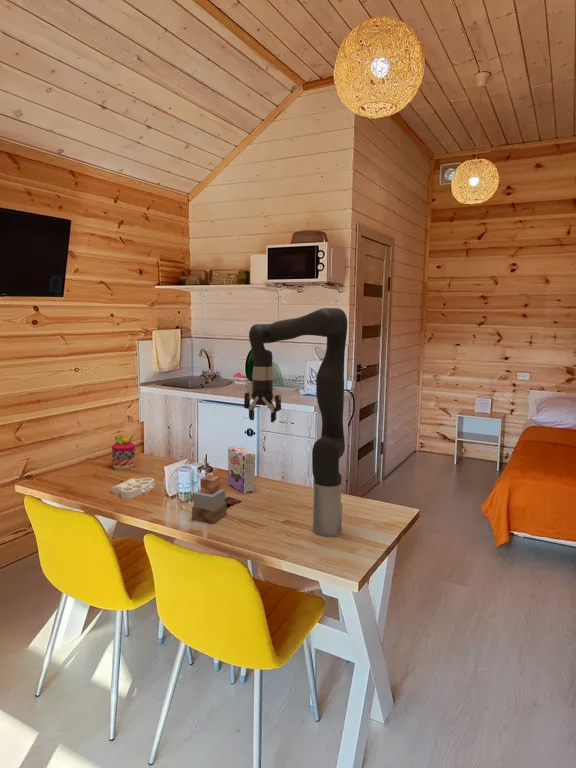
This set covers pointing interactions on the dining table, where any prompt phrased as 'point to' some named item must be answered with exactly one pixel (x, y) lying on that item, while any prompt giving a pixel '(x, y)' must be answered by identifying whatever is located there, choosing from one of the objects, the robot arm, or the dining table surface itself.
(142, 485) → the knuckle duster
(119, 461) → the cake
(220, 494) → the tower top
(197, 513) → the tower bottom
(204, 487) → the terracotta cube
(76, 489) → the dining table surface
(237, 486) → the candy box
